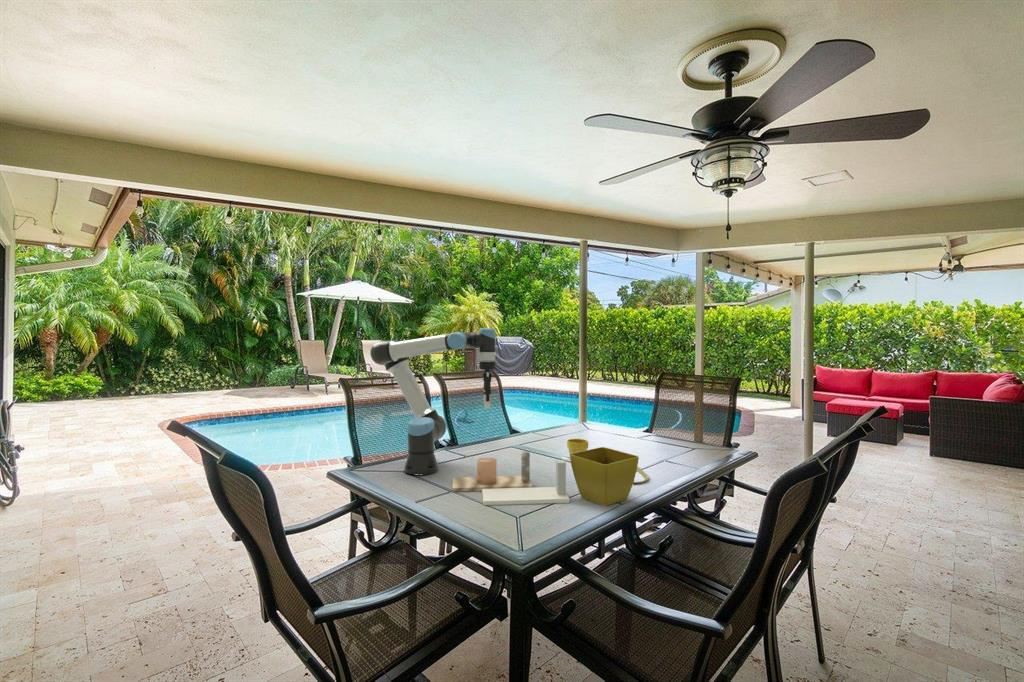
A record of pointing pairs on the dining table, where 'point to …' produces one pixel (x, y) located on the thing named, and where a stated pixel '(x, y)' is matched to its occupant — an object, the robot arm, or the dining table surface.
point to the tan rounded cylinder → (486, 471)
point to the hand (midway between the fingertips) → (486, 406)
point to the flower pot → (604, 474)
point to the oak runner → (502, 481)
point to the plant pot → (577, 445)
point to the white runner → (530, 492)
